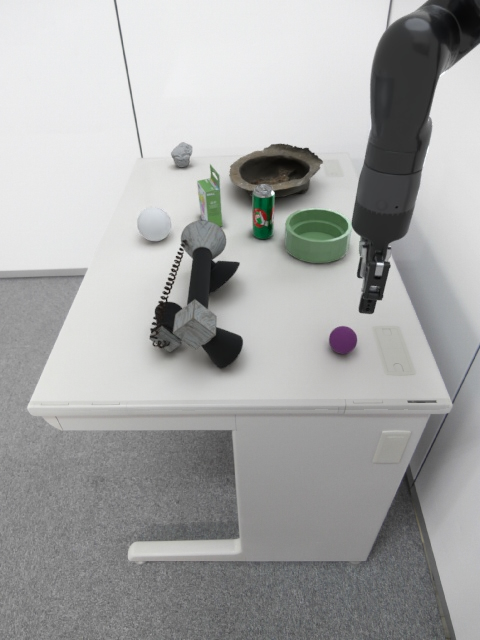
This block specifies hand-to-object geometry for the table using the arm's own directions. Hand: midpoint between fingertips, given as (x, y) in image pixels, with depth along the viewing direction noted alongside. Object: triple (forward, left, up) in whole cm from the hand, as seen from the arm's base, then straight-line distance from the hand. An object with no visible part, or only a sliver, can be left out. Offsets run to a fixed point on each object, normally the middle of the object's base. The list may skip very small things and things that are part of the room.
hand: (364, 293), depth 68 cm
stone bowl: (+23, -59, -14) cm, 65 cm away
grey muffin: (+53, -71, -14) cm, 90 cm away
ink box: (+36, -40, -14) cm, 56 cm away
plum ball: (+2, -1, -12) cm, 12 cm away
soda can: (+22, -36, -14) cm, 44 cm away
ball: (+47, -30, -14) cm, 57 cm away
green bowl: (+9, -33, -14) cm, 37 cm away
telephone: (+29, -5, -14) cm, 32 cm away
